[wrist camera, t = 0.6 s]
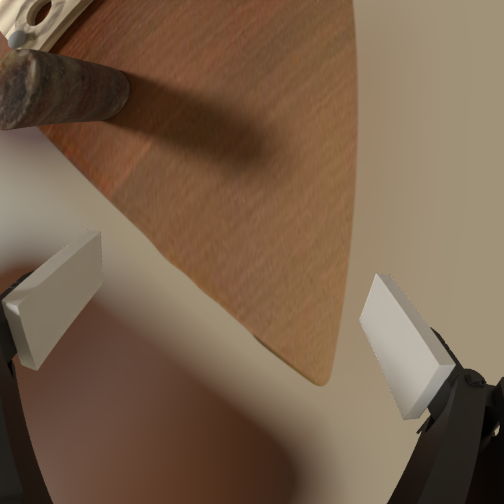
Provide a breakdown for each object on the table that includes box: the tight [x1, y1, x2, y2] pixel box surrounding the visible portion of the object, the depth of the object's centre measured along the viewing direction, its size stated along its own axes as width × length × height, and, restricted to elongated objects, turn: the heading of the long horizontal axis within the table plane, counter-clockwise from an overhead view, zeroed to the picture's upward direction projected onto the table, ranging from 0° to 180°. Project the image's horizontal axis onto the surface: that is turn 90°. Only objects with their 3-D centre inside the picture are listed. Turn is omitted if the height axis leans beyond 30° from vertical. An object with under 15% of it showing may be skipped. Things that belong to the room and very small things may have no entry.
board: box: [0, 0, 93, 52], centre depth 26 cm, size 22×13×2 cm, turn 42°
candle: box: [0, 49, 130, 130], centre depth 25 cm, size 8×7×20 cm
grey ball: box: [8, 30, 26, 49], centre depth 26 cm, size 3×3×3 cm
